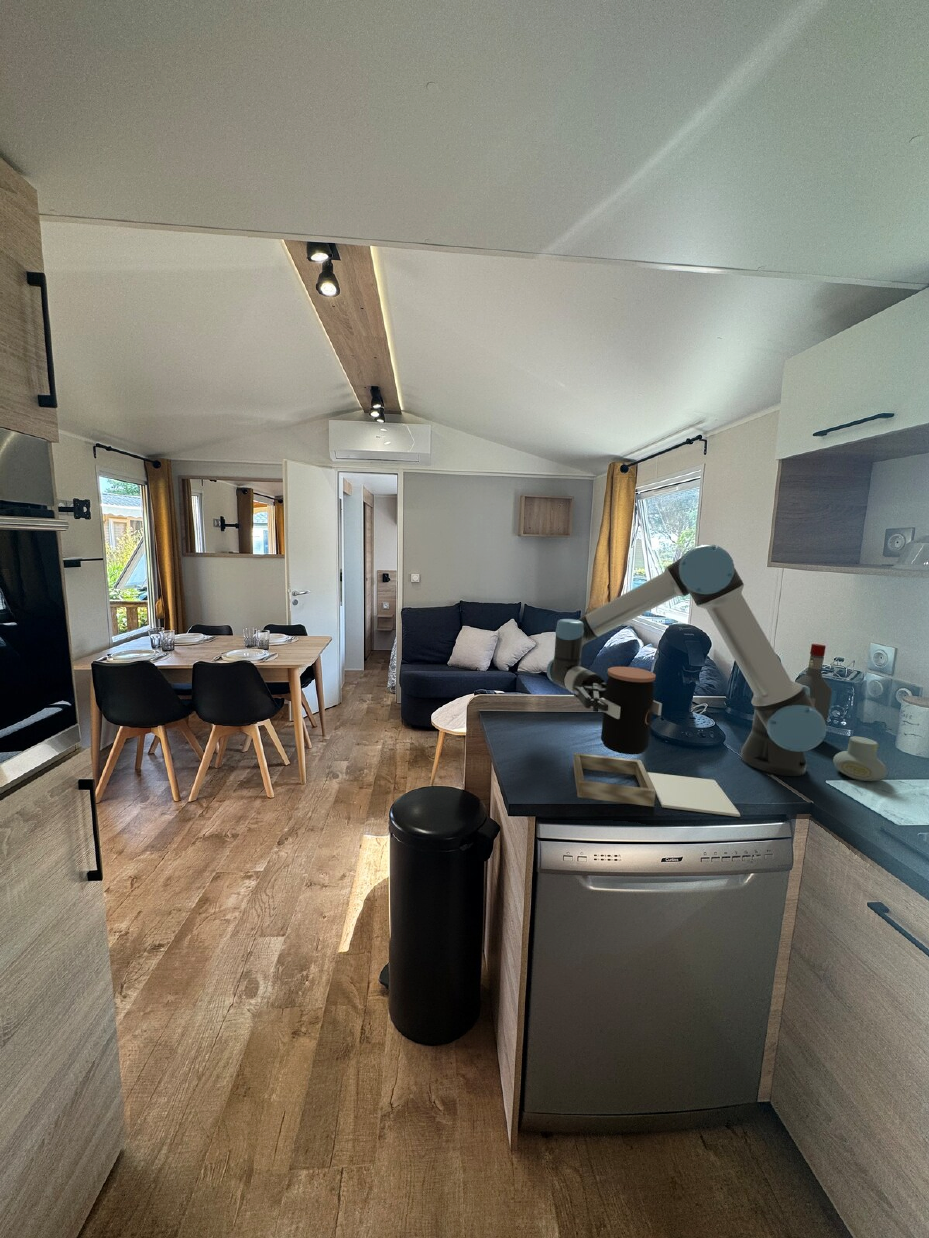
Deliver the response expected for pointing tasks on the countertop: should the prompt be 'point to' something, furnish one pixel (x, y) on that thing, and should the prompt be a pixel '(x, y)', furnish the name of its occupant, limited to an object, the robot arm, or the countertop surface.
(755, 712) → the robot arm
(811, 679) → the liquor
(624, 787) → the birch corral
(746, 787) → the countertop surface
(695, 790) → the cream mat
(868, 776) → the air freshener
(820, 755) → the countertop surface
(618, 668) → the coffee jar
